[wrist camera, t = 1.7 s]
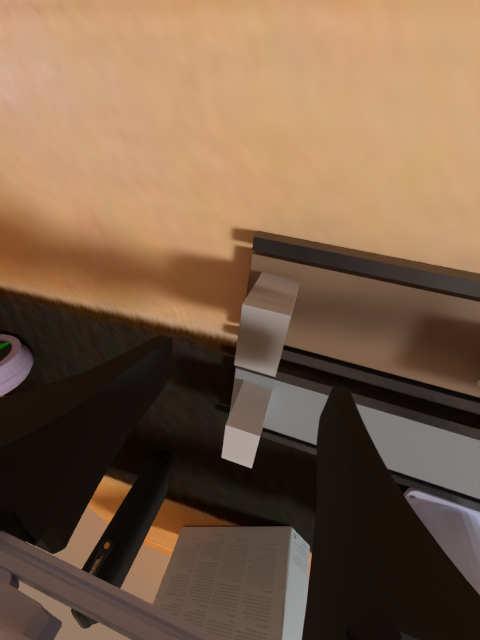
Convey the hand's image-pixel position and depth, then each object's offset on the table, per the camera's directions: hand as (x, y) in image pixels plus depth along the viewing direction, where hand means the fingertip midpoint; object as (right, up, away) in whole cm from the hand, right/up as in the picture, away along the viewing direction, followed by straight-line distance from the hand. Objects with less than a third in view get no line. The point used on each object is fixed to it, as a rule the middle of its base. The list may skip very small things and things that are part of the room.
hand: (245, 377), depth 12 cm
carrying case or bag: (-10, -17, +24) cm, 31 cm away
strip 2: (+11, -6, +10) cm, 16 cm away
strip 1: (+12, +2, +5) cm, 13 cm away
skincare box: (0, -29, +28) cm, 41 cm away
